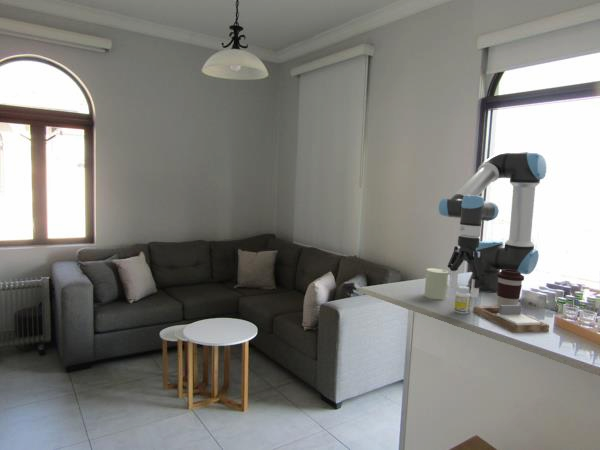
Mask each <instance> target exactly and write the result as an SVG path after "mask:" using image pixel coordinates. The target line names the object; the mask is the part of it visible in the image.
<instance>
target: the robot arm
mask: <svg viewBox="0 0 600 450" xmlns="http://www.w3.org/2000/svg"><path fill="white" fill-rule="evenodd" d="M546 174H547V162H546V158H545V156H544V154H543V153H542V152H539V151H504V152H500V153H497V154H495V155H492V156H491V157H489V158H487V159H486V160H485V161H483V162H482V163H481V164H480V165H479V166H478V168H477V172H475V173H474V174H473V176H472V177H471V178H469V180H467V181H466V183H465V184H464V185H463V186H461V188H459V190H457V192H455V194H453V196H451V198H449V197H448V198H442V199H441V200H440V201H439V202H438V212H439V214H440V215H441V216H442V217H448V218H455V219H456V218H458V219H460V221H459V229H458V234H459V236H458V237H457V246H454V248H453V253H452V255H451V257H450V259H449V261H448V264H447V268H448V269H449V270H450V276H449V278H450V279H449V287H450V288H458V277H459V268H460V267H461V265H462V264H463V262H464V261H465V262H466V263H467V264H468V265H469V268H470V271H471V275H470V277H469V280H468V281H467V287H469V289H470V296H471V298H474V297H476V298H478V297H479V292H485V293H497V284H498V277H497V273H498V272H501V270H502V269H511V270H516V271H519V272H520V273H521V275H529V274H531V273H532V272H533V271H534V270H535V268H536V266H537V264H538V261H539V256H540V255H539V251H538V250H537V249H535V244H534V243H533V241H532V232H533V231H532V229H533V217H534V207H535V205H534V204H535V196H536V195H535V194H536V193H535V192H536V187H537V186H539V185H540V184H541V183H540V182H541V180H543V179H545V177H546ZM498 179H509V183H510V184H511V185H512V196H511V197H512V199H511V211H510V223H509V224H510V226H509V237H508V239H507V240H506V241H505V242H504V241H501V240H482V241H481V240H480V238H479V237H481V232H482V230H481V229H482V222H485V221H486V222H489V221H492V220H495V219H496V218H497V217H498V215H499V213H500V212H499V210H500V209H499V206H498V205H497V204H496V203H495V202H492V201H486V200H485V198H484V196H482V195H481V194H482V192H484V190H485V189H486V188H488V186H489V185H490V184H492V183H495V182H496V181H497V180H498Z"/></svg>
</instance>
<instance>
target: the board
mask: <svg viewBox="0 0 600 450" xmlns="http://www.w3.org/2000/svg"><path fill="white" fill-rule="evenodd" d="M499 308H500V306H498V305H476V306H475V305H474V306H473V310H472V312H473V313H475V314H477V315H478V314H479V315H478V316H480V315H481V317H482V316H483V318H484V317H485V319H486V320H488V319H489V320H488V321H490V322H492V323H494V324H497V325H498V326H501V327H502V328H504V329H506V330H508V331H510V332H512V333H536V332H537V333H539V332H540V333H541V332H549V330H550V324H547V323H546V322H543V321H540V320H539V319H536V318H534V317H532V316H529V315H527V314H524V313H522V312H521V314H523V315H525V316H527V317H529V318H532V319H534V320H536V321H538V322H541V323H540V325H515V324H513V323H511V322H509V321H507V320H505V319H503V318H501V317H499V316H497V313H499Z"/></svg>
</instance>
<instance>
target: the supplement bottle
mask: <svg viewBox="0 0 600 450" xmlns="http://www.w3.org/2000/svg"><path fill="white" fill-rule="evenodd" d="M470 295H471V292H470V288H469V287H468V286H467V285H466V286H465V285H459V286H458V285H457V291H456V292H455V296H454V297H455V299H454V312H456V313H457V314H462V315H467V314H470V307H471V298H472V297H471V296H470Z"/></svg>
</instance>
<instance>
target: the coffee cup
mask: <svg viewBox="0 0 600 450" xmlns="http://www.w3.org/2000/svg"><path fill="white" fill-rule="evenodd" d="M497 277H498V284H497V292H496V294H497V300H496V301H497V306H500V305H519V299H520V296H521V290H522V288H523V287H522V283H523V281H525V275H524V274H521V273H520V272H519V271H516V270H511V269H502V270H500V272H498V273H497Z"/></svg>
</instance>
